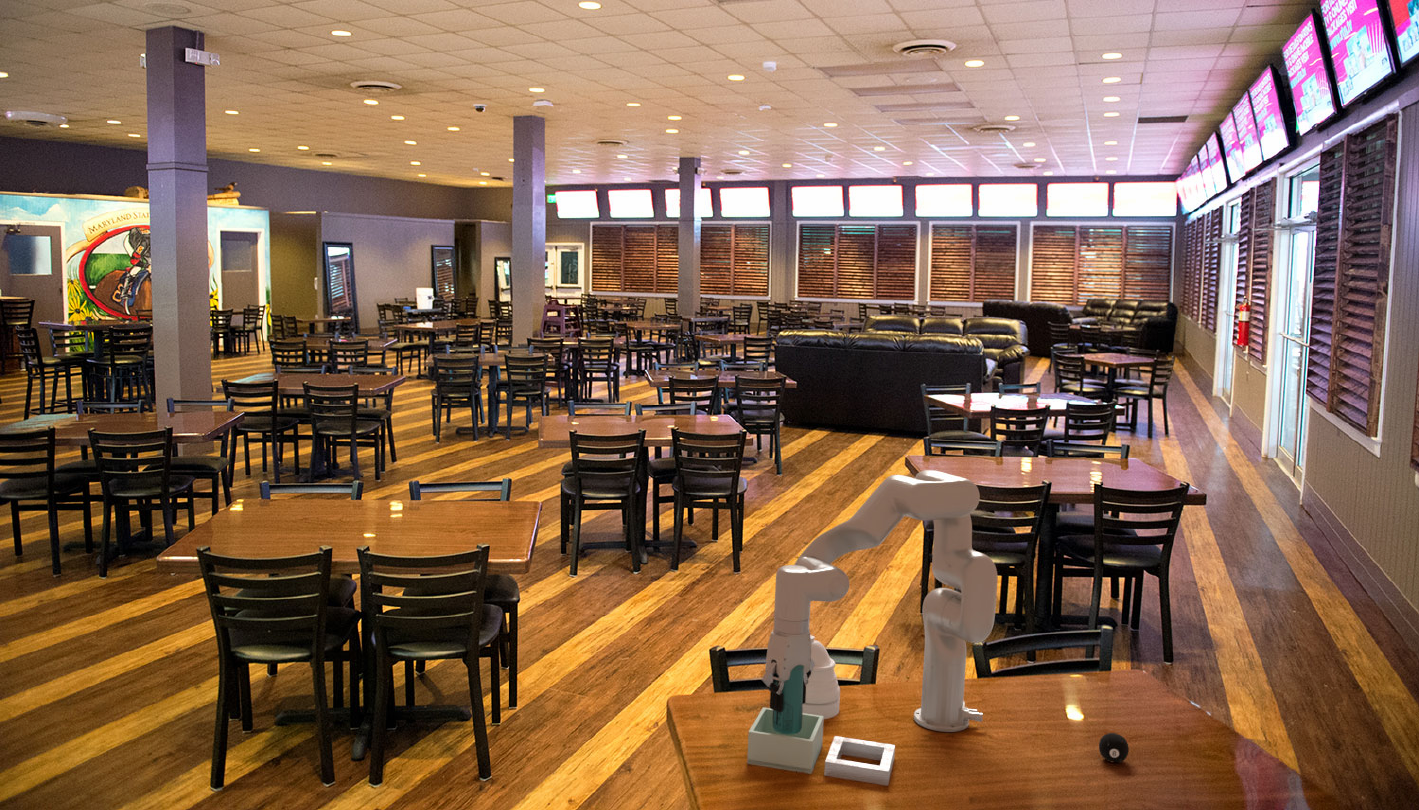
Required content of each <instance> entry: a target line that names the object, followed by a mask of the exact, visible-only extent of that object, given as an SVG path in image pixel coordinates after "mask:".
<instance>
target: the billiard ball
mask: <svg viewBox="0 0 1419 810" xmlns="http://www.w3.org/2000/svg"><path fill="white" fill-rule="evenodd" d="M1098 750H1099V753H1100V755H1101V756H1102V758H1103V759H1104V758H1105V759H1104V760H1106V761H1107V760H1109V761H1108V762H1110V761H1113V762H1118V763H1122V762H1125V760H1126V758H1127V757H1128V755H1129V750H1130V747H1129V744H1128V741H1127V740H1126V738H1125V737H1124V736H1122V735H1120V734H1119V733H1116V732H1115V733H1114V732H1113V733H1112V732H1111V733H1110V732H1108V733H1106V734H1104V735H1103V736H1102V737H1100V740H1099V744H1098ZM1113 762H1112V763H1113Z"/></svg>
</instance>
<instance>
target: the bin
mask: <svg viewBox="0 0 1419 810" xmlns="http://www.w3.org/2000/svg"><path fill="white" fill-rule="evenodd" d="M772 711H773V709H771V708H770V707H764V706H763V707H762V708H761V709H760V712H759V713H758V716H756V719H755V720H754V722H753V723H752V725H751V727H750V729H749V730H748V736H747V737H748V738H747V758H746V759H747V760H746V761H747V762H746V764H747V765H755V766H758V767H759V766H760V767H765V768H772V769H779V770H785V771H789V772H790V771H791V772H796V771H797V773H802V772H804V773H803V774H809V775H811V774H812V773H813V771H814V768H815V766H816V764H817V763H816V762H817V761H818V758H819V756H820V753H821V751H822V749H823V738H824V737H823V736H824V720H825V719H824V716H820V715H813V714H806V713H803V714H802V720H803V721H802V727H801V730H800V732H798V733H796V734H782V733H779V732H776V731H775V730H774V729H773V726H772V725H773V723H772V722H773V719H772V715H773V712H772Z"/></svg>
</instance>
